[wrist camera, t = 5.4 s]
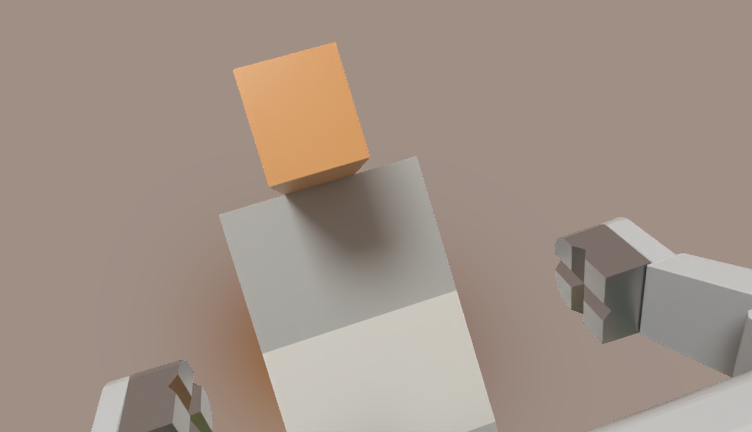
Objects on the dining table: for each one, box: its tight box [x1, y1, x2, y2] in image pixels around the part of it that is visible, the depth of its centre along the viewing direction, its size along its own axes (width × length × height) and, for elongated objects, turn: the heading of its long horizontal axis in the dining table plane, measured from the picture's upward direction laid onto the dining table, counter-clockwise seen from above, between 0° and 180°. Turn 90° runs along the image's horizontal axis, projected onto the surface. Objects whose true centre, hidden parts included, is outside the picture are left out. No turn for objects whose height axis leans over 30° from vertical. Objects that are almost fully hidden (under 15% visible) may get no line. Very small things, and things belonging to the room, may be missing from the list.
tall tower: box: [219, 156, 498, 432], centre depth 32 cm, size 10×12×28 cm
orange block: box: [233, 42, 370, 195], centre depth 27 cm, size 4×20×4 cm, turn 7°
